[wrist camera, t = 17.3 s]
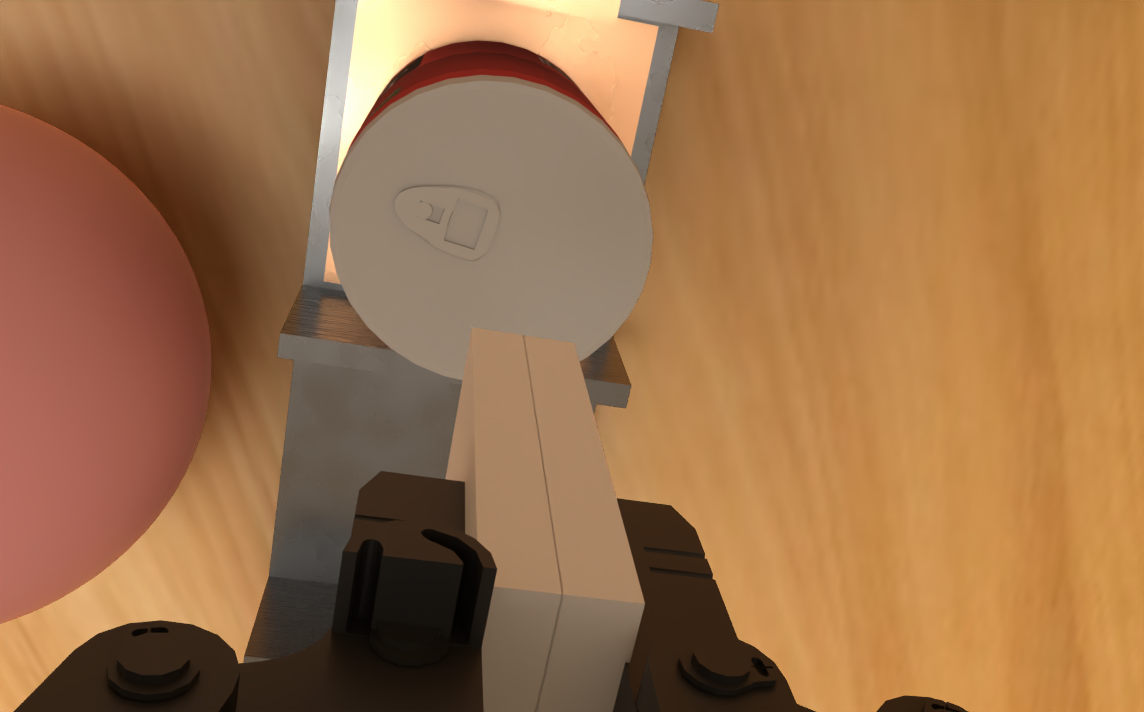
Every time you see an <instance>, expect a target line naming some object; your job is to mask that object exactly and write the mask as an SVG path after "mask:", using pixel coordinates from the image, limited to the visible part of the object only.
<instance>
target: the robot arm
mask: <svg viewBox="0 0 1144 712" xmlns="http://www.w3.org/2000/svg"><path fill="white" fill-rule="evenodd" d="M712 577H713V573H712V571H711V568H710V566H709V563H708V561H707V559H705V553H704V550H703V548H702V545H701V542H700V540H699V537H698V535H697V532H696V530H695V528H694V527H693V526H691V525H690V524H689V523H688V522H687V521H686V520H685V519H684V518H683V517H682V516H681V515H680V514H679V513H678V512H677V511H676V510H675V509H674V508H673V507H672V506H671V505H663V504H656V503H648V502H640V501H633V500H625V499H617V498H616V495H615V491H614V487H613V484H612V480H611V476H610V473H609V469H608V465H607V461H606V458H605V454H604V450H603V447H602V443H601V439H600V436H599V432H598V428H597V424H596V421H595V417H594V413H593V410H592V406H591V402H590V399H589V395H588V391H587V388H586V384H585V380H584V376H583V373H582V369H581V365H580V362H579V358H578V354H577V351H576V347H575V343H572V342H565V341H559V340H552V339H546V338H539V337H532V336H526V335H519V334H513V333H506V332H500V331H493V330H487V329H480V328H473V327H472V329H471V335H470V341H469V346H468V352H467V358H466V363H465V369H464V375H463V381H462V386H461V392H460V398H459V404H458V409H457V415H456V421H455V427H454V432H453V438H452V444H451V450H450V455H449V461H448V467H447V473H446V478H445V479H440V478H432V477H424V476H417V475H409V474H401V473H393V472H386V471H380V472H379V473H378V474H377V475H376V476H375V477H373V478H372V479H371V480H370V481H369V482H368V483H366V484H365V485H364V486H363V487H362V488H361V489H360V490H359V494H358V500H357V505H356V511H355V517H354V522H353V527H352V533H351V538H350V539H349V541H348V543H347V544H346V546H345V548H344V550H343V552H342V560H341V567H340V574H339V581H338V588H337V595H336V602H335V609H334V616H333V623H332V627H331V628H330V629H329V630H328V632H327V633H326V634H325V635H324V636H323V637H322V638H321V639H320V640H318V641H317V642H315V643H314V644H312V645H311V646H309V647H307V648H306V649H304V650H301V651H298V652H296V653H293V654H290V655H288V656H285V657H280V658H275V659H270V660H264V661H258V662H249V663H240V664H238V661H237V657H236V654H235V651H234V650H233V649H232V648H231V647H230V646H229V645H228V644H227V643H226V642H225V641H224V640H222V639H221V638H220V637H219V636H218V635H216V634H214V633H211V632H209V631H207V630H204V629H202V628H199V627H197V626H195V625H192V624H184V623H177V622H169V621H150V622H140V623H129V624H126V625H123V626H120V627H117V628H114V629H111V630H108V631H105V632H102V633H99V634H97V635H95V636H94V637H93V638H91V639H90V640H88V641H87V642H85V643H84V644H83V645H81V646H80V647H78V648H77V649H75V650H74V651H73V652H72V653H71V654H70V655H69V656H68V657H67V658H66V659H65V660H64V661H63V662H62V663H61V664H60V665H59V666H58V667H57V668H56V669H55V670H54V671H53V672H52V673H51V674H50V675H49V676H48V677H47V678H46V679H45V680H44V682H43V683H42V684H41V685H40V686H39V687H38V688H37V689H36V690H35V691H34V692H33V693H32V694H31V695H30V696H29V697H28V698H27V699H26V700H25V701H24V702H23V703H22V704H21V705H20V706H19V707H18V708H17V709H16V710H15V711H14V712H815V711H813V710H810V709H808V708H805V707H803V706H800V705H798V704H797V703H796V701H795V699H794V697H793V694H792V692H791V690H790V687H789V685H788V683H787V680H786V679H785V677H784V676H783V674H782V673H781V671H780V670H779V669H778V667H777V666H776V664H775V663H774V662H773V661H772V660H771V659H769V658H768V657H767V656H765V655H764V654H763V653H762V652H760V651H759V650H758V649H756V648H755V647H754V646H752V645H749V644H747V643H745V642H743V641H741V640H739V639H738V638H737V635H736V633H735V630H734V628H733V625H732V622H731V620H730V617H729V615H728V612H727V610H726V607H725V604H724V602H723V599H722V597H721V594H720V592H719V589H718V586H717V584H716V581H715V580H713V579H712ZM877 712H968V711H966V710H964V709H963V708H961V707H960V706H957V705H954V704H951V703H949V702H947V703H946V702H944V701H942V700H938V699H933V698H930V697H918V696H902V697H898V698H894V699H891V700H887V701H885V703H884V704H883V705H882V706H881V707H880V708H879V709H878V711H877Z"/></svg>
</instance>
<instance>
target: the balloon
mask: <svg viewBox="0 0 1144 712" xmlns="http://www.w3.org/2000/svg"><path fill="white" fill-rule="evenodd" d="M211 374H212V352H211V339H210V331H209V325H208V319H207V314H206V310H205V305H204V301H203V298H202V294H201V291H200V288H199V285H198V282H197V280H196V277H195V274H194V272H193V269H192V267H191V265H190V263H189V260H188V258H187V256H186V254H185V252H184V250H183V248H182V247H181V245H180V243H179V241H178V239H177V238H176V236H175V235H174V233H173V231H172V230H171V228H170V227H169V225H168V224H167V222H166V221H165V220H164V218H163V217H162V215H161V214H160V213H159V211H158V210H157V209H156V208H155V206H154V205H153V204H152V203H151V202H150V201H149V199H148V198H147V197H146V196H145V195H144V194H143V193H142V192H141V190H140V189H139V188H138V187H137V186H136V185H135V184H134V183H133V182H132V181H131V180H130V179H129V178H128V177H126V176H125V175H124V174H123V173H122V172H121V171H120V170H119V169H117V168H116V167H115V166H114V165H113V164H112V163H110V162H109V161H108V160H107V159H105V158H104V157H103V156H101V155H100V154H99V153H97V152H96V151H94V150H93V149H91V148H90V147H89V146H87V145H86V144H84V143H82V142H81V141H79V140H78V139H76V138H74V137H73V136H71V135H69V134H67V133H66V132H64V131H62V130H60V129H58V128H56V127H54V126H52V125H50V124H48V123H46V122H44V121H42V120H40V119H37V118H35V117H33V116H31V115H28V114H26V113H23V112H21V111H18V110H15V109H12V108H9V107H6V106H3V105H0V624H1V623H4V622H7V621H10V620H13V619H16V618H18V617H21V616H24V615H26V614H29V613H31V612H33V611H36V610H38V609H40V608H42V607H44V606H46V605H48V604H50V603H52V602H54V601H56V600H58V599H60V598H62V597H64V596H65V595H67V594H69V593H70V592H72V591H74V590H75V589H77V588H79V587H80V586H82V585H83V584H85V583H86V582H88V581H89V580H91V579H92V578H94V577H95V576H97V575H98V574H99V573H101V572H102V571H103V570H104V569H106V568H107V567H108V566H109V565H111V564H112V563H113V562H114V561H116V560H117V559H118V558H119V557H120V556H121V555H122V554H124V553H125V552H126V551H127V550H128V549H129V548H130V547H131V546H132V545H133V544H134V543H135V542H136V541H137V540H138V539H139V538H140V537H141V536H142V535H143V534H144V533H145V531H146V530H147V529H148V528H149V527H150V526H151V524H152V523H153V522H154V521H155V520H156V518H157V517H158V516H159V514H160V513H161V512H162V510H163V509H164V507H165V506H166V505H167V503H168V502H169V500H170V499H171V497H172V496H173V494H174V492H175V491H176V489H177V487H178V486H179V484H180V482H181V480H182V478H183V477H184V475H185V473H186V471H187V469H188V466H189V464H190V462H191V460H192V457H193V455H194V452H195V450H196V447H197V444H198V442H199V439H200V436H201V432H202V429H203V425H204V422H205V418H206V413H207V408H208V402H209V396H210V387H211Z"/></svg>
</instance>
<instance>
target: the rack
mask: <svg viewBox="0 0 1144 712" xmlns="http://www.w3.org/2000/svg"><path fill="white" fill-rule="evenodd" d="M718 7H719V4H717V3H713V2H709V1H705V0H336V4H335V12H334V21H333V30H332V38H331V47H330V55H329V64H328V72H327V81H326V90H325V98H324V107H323V115H322V124H321V133H320V141H319V150H318V158H317V167H316V176H315V184H314V193H313V201H312V210H311V219H310V227H309V236H308V244H307V253H306V262H305V270H304V279H303V285H302V287H301V290H300V292H299V294H298V296H297V298H296V300H295V302H294V304H293V307H292V309H291V311H290V313H289V315H288V317H287V319H286V321H285V324H284V326H283V328H282V330H281V332H280V337H279V346H278V355H277V358H284V359H291V360H294V365H293V373H292V382H291V390H290V399H289V408H288V416H287V425H286V433H285V442H284V451H283V459H282V468H281V476H280V485H279V494H278V502H277V511H276V519H275V528H274V537H273V545H272V554H271V562H270V571H269V577H268V581H267V584H266V587H265V590H264V594H263V597H262V600H261V603H260V607H259V610H258V613H257V616H256V620H255V623H254V626H253V629H252V633H251V636H250V639H249V642H248V646H247V649H246V652H245V655H244V663H249V662H258V661H264V660H270V659H275V658H280V657H285V656H288V655H290V654H293V653H296V652H298V651H301V650H304V649H306V648H307V647H309V646H311V645H312V644H314V643H315V642H317V641H318V640H320V639H321V638H322V637H323V636H324V635H325V634H326V633H327V632H328V630H329V629H330V628H331V627H332V623H333V616H334V609H335V602H336V595H337V588H338V581H339V574H340V567H341V560H342V552H343V550H344V548H345V546H346V544H347V543H348V541H349V539H350V538H351V533H352V527H353V522H354V517H355V511H356V505H357V500H358V494H359V490H360V489H361V488H362V487H363V486H364V485H365V484H366V483H368V482H369V481H370V480H371V479H372V478H373V477H375V476H376V475H377V474H378V473H379V472H380V471H386V472H393V473H401V474H409V475H417V476H424V477H432V478H440V479H445V478H446V473H447V467H448V461H449V455H450V450H451V444H452V438H453V432H454V427H455V421H456V415H457V409H458V404H459V398H460V392H461V386H462V381H463V380H460V379H455V378H451V377H446V376H443V375H440V374H438V373H435V372H433V371H431V370H428V369H426V368H423V367H421V366H418V365H416V364H414V363H413V362H411V361H410V360H408V359H407V358H405V357H403V356H402V355H400V354H399V353H397V352H396V351H394V350H392V349H391V348H390V347H389V346H387V345H386V344H385V343H384V342H383V341H382V340H381V339H380V338H379V337H378V336H377V335H376V334H375V333H373V332H372V331H371V330H370V329H369V328H368V327H367V325H366V324H365V323H364V321H363V320H362V319H361V317H360V316H359V314H358V313H357V312H356V310H355V309H354V308H353V306H352V305H351V304H350V302H349V300H348V298H347V296H346V293H345V291H344V289H343V287H342V285H341V283H340V280H339V278H338V276H337V273H336V269H335V265H334V260H333V256H332V252H331V248H330V222H329V209H330V204H331V198H332V193H333V188H334V183H335V179H336V177H337V174H338V172H339V170H340V167H341V165H342V163H343V160H344V158H345V156H346V153H347V151H348V149H349V146H350V144H351V142H352V140H353V139H354V137H355V135H356V134H357V132H358V130H359V129H360V127H361V125H362V124H363V122H364V120H365V118H366V117H367V115H368V113H369V112H370V110H371V108H372V107H373V105H374V103H375V102H376V100H377V98H378V97H379V95H380V94H381V93H382V91H383V90H384V88H385V87H386V86H387V84H388V83H389V81H390V80H391V79H392V78H393V77H394V76H395V75H396V74H397V73H398V72H399V71H401V70H402V69H403V68H404V67H405V66H406V65H407V64H408V63H410V62H411V61H413V60H415V59H417V58H418V57H420V56H422V55H424V54H425V53H427V52H429V51H431V50H434V49H437V48H440V47H443V46H446V45H449V44H452V43H459V42H468V41H476V40H479V41H492V42H503V43H507V44H510V45H514V46H517V47H521V48H525V49H527V50H529V51H531V52H533V53H535V54H537V55H539V56H541V57H543V58H545V59H547V60H549V61H550V62H551V63H553V64H554V65H555V66H557V67H558V68H559V69H561V70H562V71H563V72H565V73H566V74H567V75H568V76H569V77H570V78H571V79H572V80H573V82H574V83H575V84H576V85H577V86H578V87H579V88H580V89H581V91H582V92H583V93H584V94H585V95H586V97H587V98H588V99H589V100H590V102H591V103H592V104H593V105H594V106H595V108H596V109H597V110H598V111H599V113H600V114H601V115H602V116H603V118H604V119H605V120H606V121H607V123H608V124H609V125H610V126H611V128H612V129H613V130H614V131H615V132H616V134H617V135H618V136H619V138H620V140H621V142H622V143H623V144H624V146H625V148H626V149H627V151H628V153H629V155H630V156H631V158H632V160H633V161H634V163H635V165H636V167H637V168H638V170H639V173H640V175H641V178H642V181H643V184H645V179H646V175H647V170H648V166H649V161H650V156H651V152H652V147H653V143H654V138H655V134H656V129H657V125H658V120H659V116H660V111H661V106H662V102H663V97H664V93H665V88H666V84H667V79H668V75H669V70H670V66H671V61H672V56H673V52H674V47H675V43H676V38H677V34H678V29H679V26H680V27H685V28H690V29H695V30H700V31H705V32H710V33H713V29H714V24H715V20H716V15H717V11H718ZM579 362H580V365H581V369H582V373H583V376H584V380H585V384H586V388H587V391H588V395H589V399H590V402H591V406H592V410H593V413H594V411H595V407H596V404H599V405H606V406H613V407H620V408H626V406H627V402H628V397H629V393H630V389H631V384H630V381H629V378H628V376H627V373H626V370H625V367H624V365H623V362H622V359H621V357H620V354H619V351H618V349H617V346H616V343H615V340H614V338H613V336H612V337H611V338H610V339H609V340H608V341H607V342H605V343H604V344H603V345H602V346H601V347H599V348H598V349H597V350H596V351H594V352H593V353H592V354H591V355H589V356H588V357H587V358H585V359H583V360H581V361H579Z"/></svg>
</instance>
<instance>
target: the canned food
mask: <svg viewBox="0 0 1144 712" xmlns="http://www.w3.org/2000/svg"><path fill="white" fill-rule="evenodd" d="M329 222H330V248H331V252H332V256H333V260H334V265H335V269H336V273H337V276H338V278H339V280H340V283H341V285H342V287H343V289H344V291H345V293H346V296H347V298H348V300H349V302H350V304H351V305H352V306H353V308H354V309H355V310H356V312H357V313H358V314H359V316H360V317H361V319H362V320H363V321H364V323H365V324H366V325H367V327H368V328H369V329H370V330H371V331H372V332H373V333H375V334H376V335H377V336H378V337H379V338H380V339H381V340H382V341H383V342H384V343H385V344H386V345H387V346H389V347H390V348H391V349H392V350H394V351H396V352H397V353H399V354H400V355H402V356H403V357H405V358H407V359H408V360H410V361H411V362H413V363H414V364H416V365H418V366H421V367H423V368H426V369H428V370H431V371H433V372H435V373H438V374H440V375H443V376H446V377H451V378H455V379H460V380H463V375H464V369H465V363H466V358H467V352H468V346H469V341H470V335H471V329H472V327H473V328H480V329H487V330H493V331H500V332H506V333H513V334H519V335H526V336H532V337H539V338H546V339H552V340H559V341H565V342H572V343H575V347H576V351H577V354H578V358H579V361H581V360H583V359H585V358H587V357H588V356H589V355H591V354H592V353H593V352H594V351H596V350H597V349H598V348H599V347H601V346H602V345H603V344H604V343H605V342H607V341H608V340H609V339H610V338H611V337H612V336H613V335H614V334H615V332H616V331H617V330H618V329H619V328H620V326H621V325H622V324H623V323H624V322H625V320H626V319H627V318H628V317H629V315H630V313H631V311H632V310H633V308H634V306H635V304H636V302H637V300H638V298H639V297H640V295H641V293H642V291H643V288H644V284H645V281H646V278H647V274H648V271H649V267H650V264H651V254H652V242H653V229H652V221H651V212H650V205H649V199H648V196H647V193H646V190H645V187H644V184H643V181H642V178H641V175H640V173H639V170H638V168H637V167H636V165H635V163H634V161H633V160H632V158H631V156H630V155H629V153H628V151H627V149H626V148H625V146H624V144H623V143H622V142H621V140H620V138H619V136H618V135H617V134H616V132H615V131H614V130H613V129H612V128H611V126H610V125H609V124H608V123H607V121H606V120H605V119H604V118H603V116H602V115H601V114H600V113H599V111H598V110H597V109H596V108H595V106H594V105H593V104H592V103H591V102H590V100H589V99H588V98H587V97H586V95H585V94H584V93H583V92H582V91H581V89H580V88H579V87H578V86H577V85H576V84H575V83H574V82H573V80H572V79H571V78H570V77H569V76H568V75H567V74H566V73H565V72H563V71H562V70H561V69H559V68H558V67H557V66H555V65H554V64H553V63H551V62H550V61H549V60H547V59H545V58H543V57H541V56H539V55H537V54H535V53H533V52H531V51H529V50H527V49H525V48H521V47H517V46H514V45H510V44H507V43H503V42H492V41H479V40H476V41H468V42H459V43H452V44H449V45H446V46H443V47H440V48H437V49H434V50H431V51H429V52H427V53H425V54H424V55H422V56H420V57H418V58H417V59H415V60H413V61H411V62H410V63H408V64H407V65H406V66H405V67H404V68H403V69H402V70H401V71H399V72H398V73H397V74H396V75H395V76H394V77H393V78H392V79H391V80H390V81H389V83H388V84H387V86H386V87H385V88H384V90H383V91H382V93H381V94H380V95H379V97H378V98H377V100H376V102H375V103H374V105H373V107H372V108H371V110H370V112H369V113H368V115H367V117H366V118H365V120H364V122H363V124H362V125H361V127H360V129H359V130H358V132H357V134H356V135H355V137H354V139H353V140H352V142H351V144H350V146H349V149H348V151H347V153H346V156H345V158H344V160H343V163H342V165H341V167H340V170H339V172H338V174H337V177H336V179H335V183H334V188H333V193H332V198H331V204H330V209H329Z"/></svg>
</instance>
